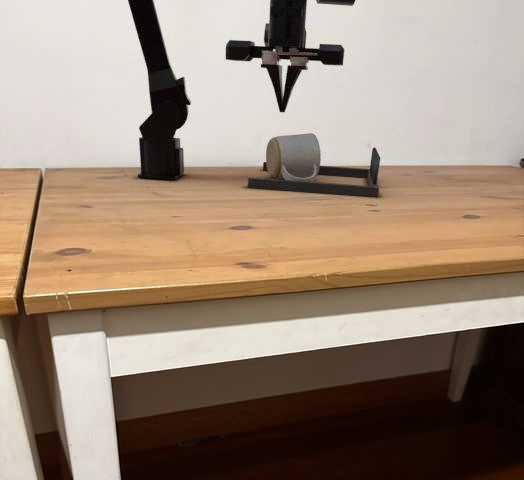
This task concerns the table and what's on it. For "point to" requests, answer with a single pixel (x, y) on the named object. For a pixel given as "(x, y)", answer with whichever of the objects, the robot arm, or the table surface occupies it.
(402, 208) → the table surface
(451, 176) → the table surface
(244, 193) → the table surface
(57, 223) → the table surface
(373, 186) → the dish rack
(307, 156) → the ceramic mug
